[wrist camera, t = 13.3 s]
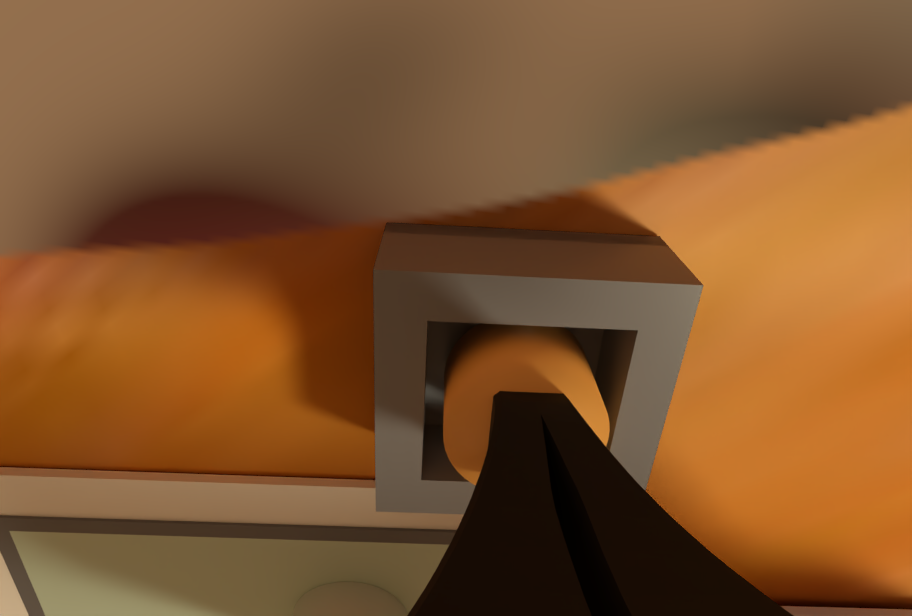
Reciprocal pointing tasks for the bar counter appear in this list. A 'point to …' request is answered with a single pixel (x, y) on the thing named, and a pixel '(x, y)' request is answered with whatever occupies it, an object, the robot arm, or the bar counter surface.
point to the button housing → (519, 303)
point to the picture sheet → (201, 543)
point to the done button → (511, 384)
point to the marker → (348, 601)
